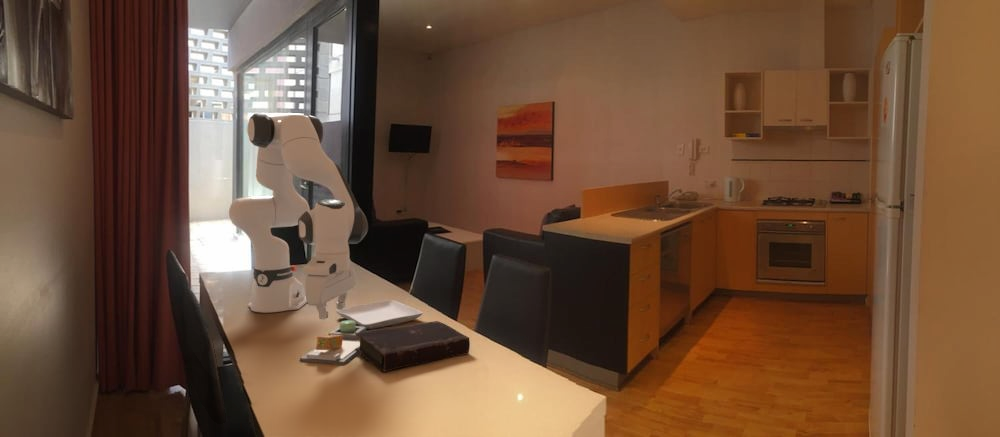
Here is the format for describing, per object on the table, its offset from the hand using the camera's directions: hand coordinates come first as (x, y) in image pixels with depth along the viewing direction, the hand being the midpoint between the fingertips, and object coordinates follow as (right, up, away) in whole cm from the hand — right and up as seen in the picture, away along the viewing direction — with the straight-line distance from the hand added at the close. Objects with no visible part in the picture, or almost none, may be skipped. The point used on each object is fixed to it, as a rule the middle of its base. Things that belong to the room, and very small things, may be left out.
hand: (332, 313), depth 144 cm
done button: (0, -8, +15) cm, 17 cm away
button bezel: (0, -9, +15) cm, 18 cm away
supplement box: (0, -8, +4) cm, 9 cm away
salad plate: (+5, -8, +33) cm, 35 cm away
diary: (+21, -11, +2) cm, 23 cm away
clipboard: (0, -11, +2) cm, 11 cm away
